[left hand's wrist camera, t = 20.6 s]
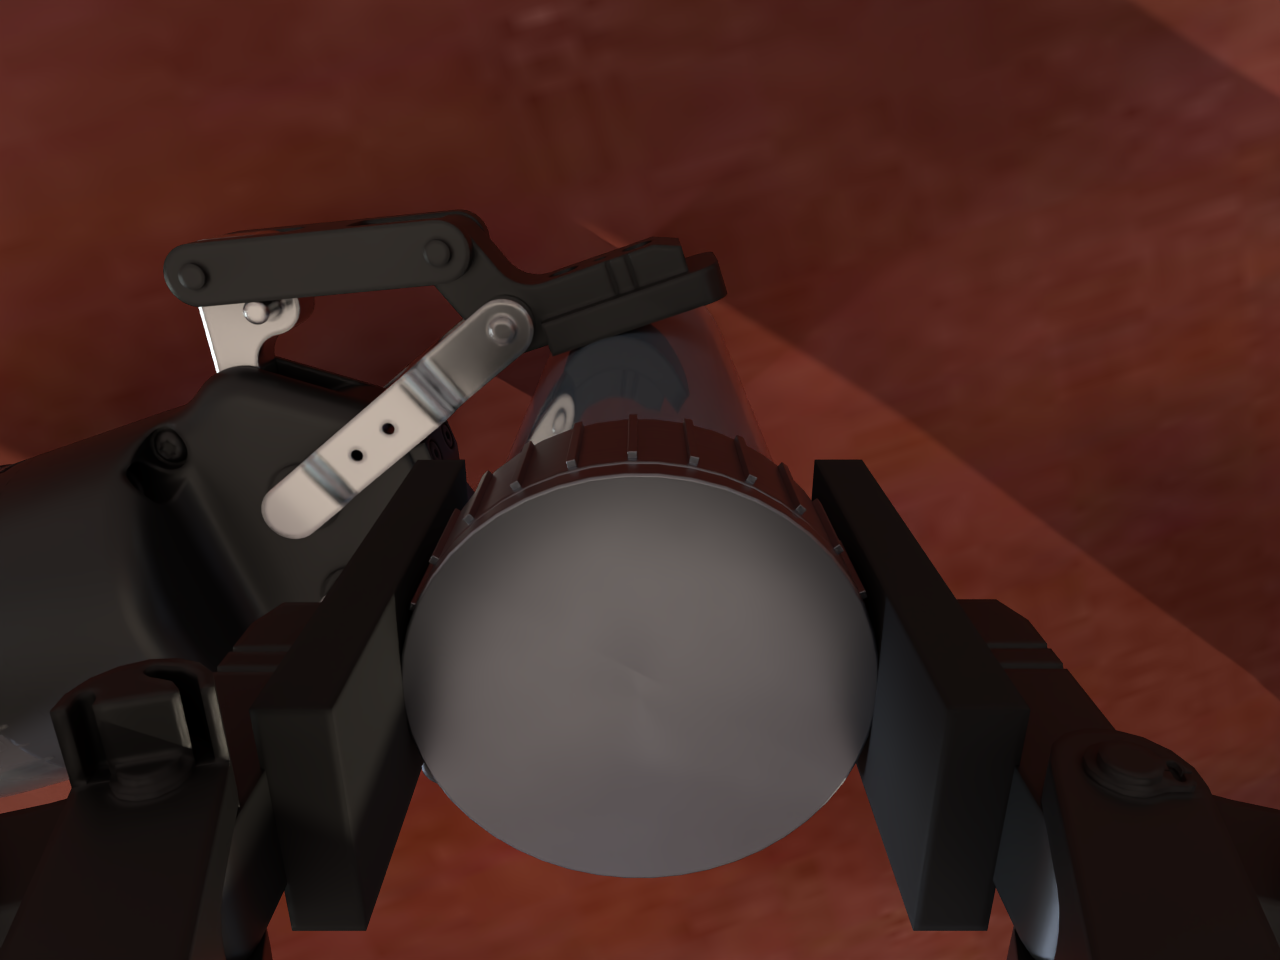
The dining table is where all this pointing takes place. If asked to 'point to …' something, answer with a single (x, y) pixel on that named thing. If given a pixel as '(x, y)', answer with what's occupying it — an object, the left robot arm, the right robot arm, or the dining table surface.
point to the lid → (639, 652)
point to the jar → (645, 383)
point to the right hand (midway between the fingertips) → (752, 396)
